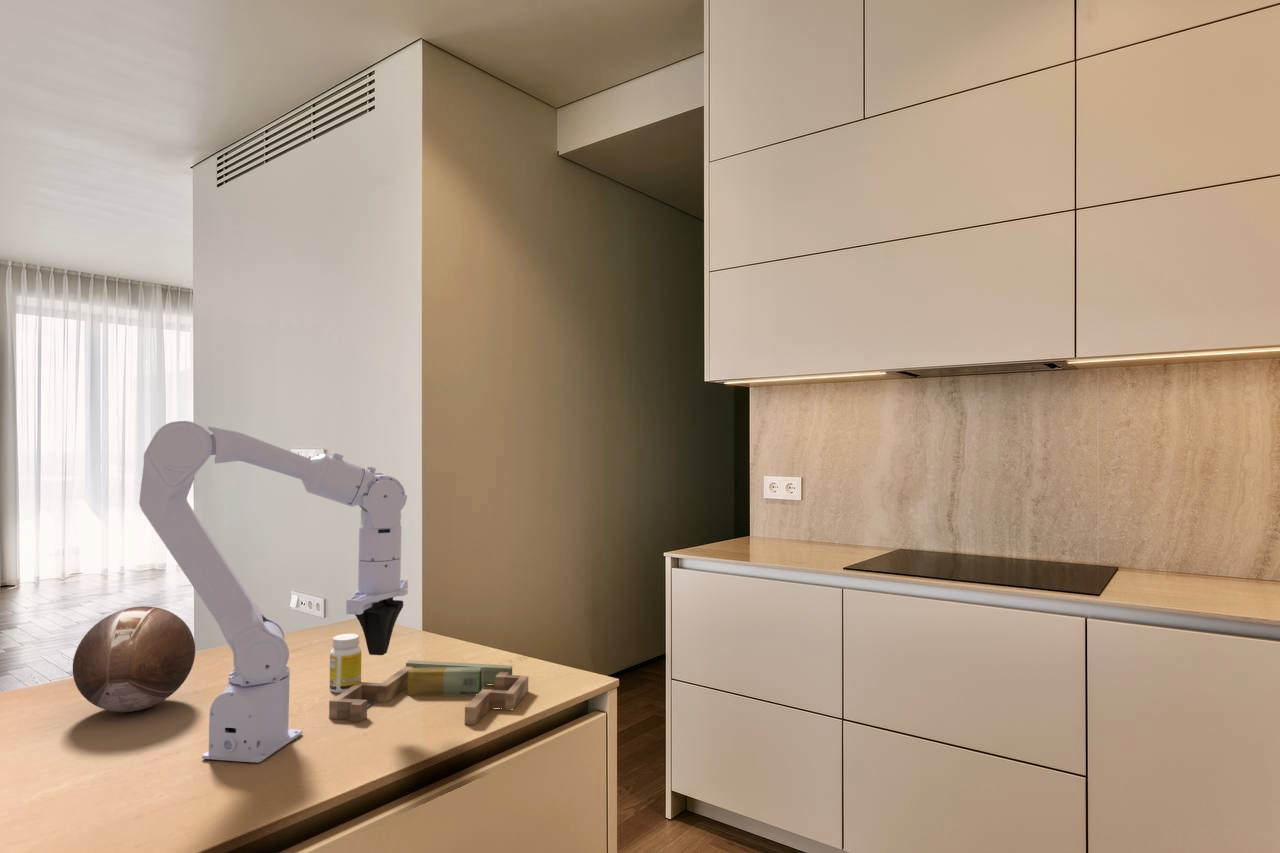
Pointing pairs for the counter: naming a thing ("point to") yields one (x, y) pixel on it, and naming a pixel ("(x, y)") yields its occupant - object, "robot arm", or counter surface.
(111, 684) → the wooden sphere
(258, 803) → the counter surface
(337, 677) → the supplement bottle
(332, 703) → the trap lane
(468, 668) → the medication box
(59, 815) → the counter surface
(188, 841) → the counter surface
